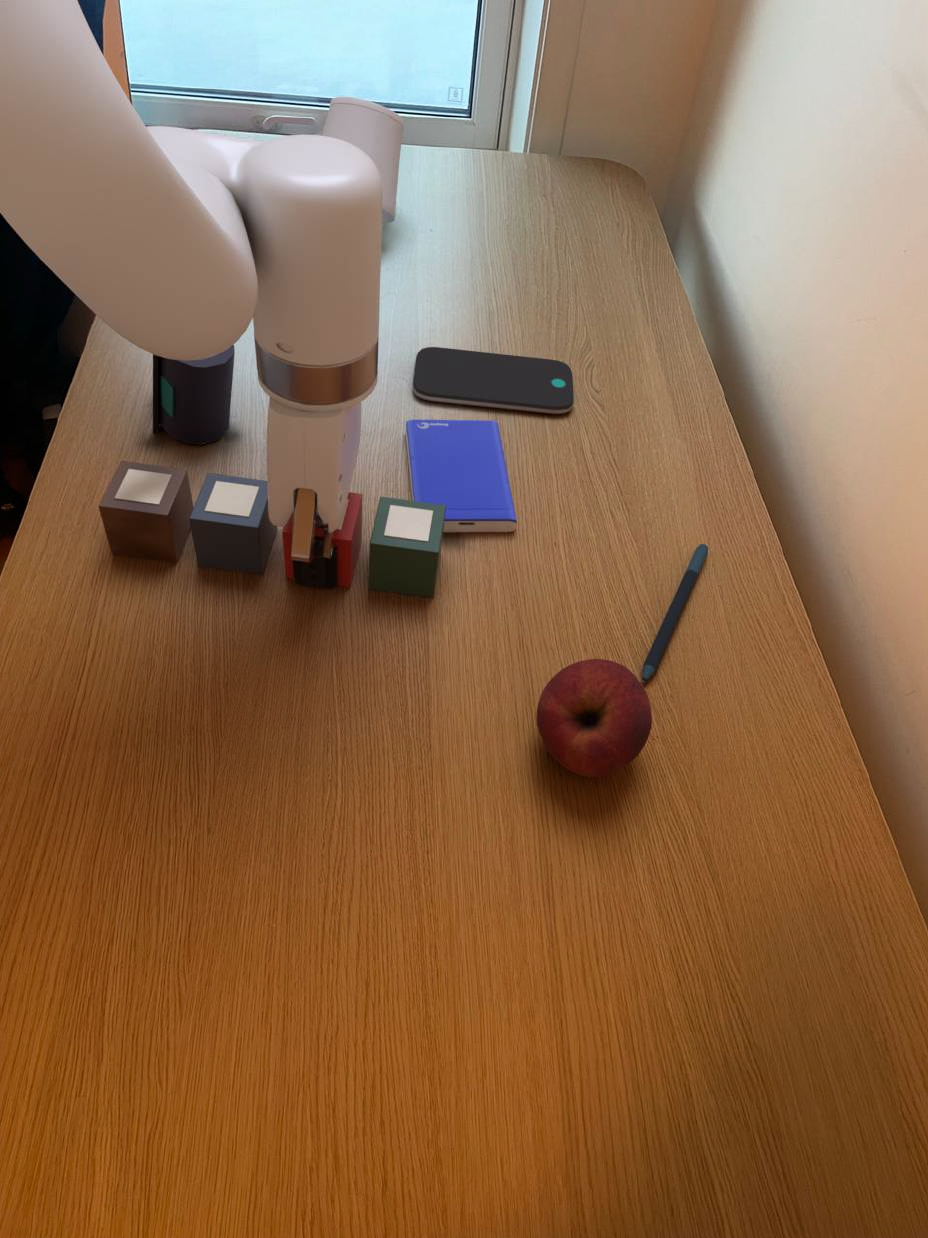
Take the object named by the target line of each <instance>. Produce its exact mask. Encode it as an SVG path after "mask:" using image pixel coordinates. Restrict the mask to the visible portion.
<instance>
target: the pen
mask: <svg viewBox="0 0 928 1238" xmlns="http://www.w3.org/2000/svg"><path fill="white" fill-rule="evenodd" d="M708 554H709V546H708V545H707V544H705V543H700V544H699V545H698V546H697V547H696V548H695V550H694V552H693V554H692V557H691V559H690V561H689V564H688V565H687V568H686V570H685V571H684V574H683V577H682V579H681V581H680V583H679V585H678V587H677V590H676V592H675V594H674V596H673V598H672V601H671V603H670V605H669V607H668V609H667V612H666V613H665V616H664V618H663V621H662V623H661V625H660V627H659V629H658V632H657V634H656V635H655V638H654V640H653V641H652V644H651V647H650V649H649V651H648V654H647V656H646V658H645V661H644V662H643V664H642V672H641V674H642V675H641V680H642V683H643V684H645V682H647V681H648V680H649V679H650V678H651V677H652V676H653V675H654V674H655V673H656V672H657V670H658V668H659V666H660V663H661V661H662V659H663V656H664V653H665V652H666V649H667V647H668V645H669V643H670V640H671V638H672V636H673V633H674V631H675V630H676V628H677V627H676V626H677V624H678V622H679V620H680V618H681V616H682V613H683V611H684V609H685V606H686V604H687V602H688V599H689V597H690V595H691V593H692V591H693V588H694V586H695V584H696V582H697V579H698V577H699V575H700V572H701V570H702V568H703V565H704V563H705V561H706V558H707V556H708Z"/></svg>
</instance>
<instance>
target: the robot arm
mask: <svg viewBox="0 0 928 1238" xmlns="http://www.w3.org/2000/svg"><path fill="white" fill-rule="evenodd" d="M382 208H383V194H382V182H381V177H380V174H379V172H378V169H377V167H376V165H375V164H374V162H373V161H372V159H371V158H370V157H369V156H368V155H367V154H366V153H364V152H363V151H362V150H360V149H359V148H358V147H356V146H354V145H352V144H351V143H348V142H346V141H343V140H340V139H336V138H332V137H327V136H322V135H319V134H292V135H285V136H281V137H276V138H274V139H270V140H260V139H253V138H244V137H238V136H231V135H225V134H219V133H214V132H213V133H212V132H207V131H201V130H195V129H190V128H185V127H176V126H165V125H149V126H146V125H145V123H144V121H143V120H142V118H141V116H140V115H139V114H138V112H137V110H136V109H135V107H134V105H133V104H132V103H131V101H130V99H129V98H128V96H127V95H126V93H125V91H124V89H123V88H122V86H121V84H120V83H119V81H118V79H117V78H116V75H114V72H113V70H112V69H111V67H110V65H109V63H108V60H106V58H105V56H104V54H103V52H102V50H101V48H100V47H99V45H98V42H97V40H96V38H95V35H94V34H93V32H92V30H91V28H90V26H89V24H88V21H87V19H86V17H85V14H84V13H83V10H82V8H81V5H80V3H79V0H0V214H1V215H2V217H3V218H4V219H5V221H6V222H7V223H8V224H9V225H10V227H11V228H12V229H13V230H14V232H16V234H17V235H18V236H19V237H20V239H21V240H22V241H23V242H24V243H25V245H27V246H28V248H29V249H30V250H31V251H32V252H33V253H35V255H36V256H37V257H38V258H39V260H40V261H42V263H44V264H45V266H47V267H48V268H49V269H50V270H51V272H53V273H54V274H55V276H56V277H57V278H58V279H60V280H61V282H62V283H63V284H64V285H66V286H67V288H69V289H70V291H71V292H72V293H74V295H75V296H77V297H78V299H79V300H81V302H83V304H85V305H86V307H88V308H89V310H90V311H92V313H94V314H95V315H96V316H97V317H98V318H99V319H100V320H101V321H102V322H103V323H104V324H105V325H107V327H109V328H110V329H111V330H113V331H114V332H115V334H118V335H119V336H120V337H122V338H123V339H125V340H126V341H128V342H129V343H131V344H132V345H134V346H135V347H137V348H139V349H141V350H143V351H145V352H148V353H150V354H151V355H153V354H154V355H157V356H160V357H164V358H167V359H174V360H182V361H191V360H202V359H206V358H209V357H213V356H215V355H217V354H219V353H222V352H224V351H226V350H227V349H228V348H230V347H231V346H232V345H235V344H236V343H237V342H238V341H239V340H240V339H241V337H242V336H243V335H244V334H245V333H246V331H247V330H248V328H249V326H250V324H251V323H252V324H253V325H252V326H253V337H254V348H255V360H256V361H255V362H256V369H257V380H258V384H259V386H260V387H261V389H262V391H263V392H264V393H265V394H266V395H267V396H268V397H269V401H268V411H267V424H266V425H267V427H266V428H267V429H266V477H267V478H266V481H267V483H268V512H269V519H270V521H271V523H272V524H273V525H274V526H277V527H281V528H283V527H285V525H286V524H287V522H288V520H289V518H290V516H291V514H292V512H293V518H292V553H291V559H292V560H293V572H294V579H293V581H294V583H295V584H297V585H300V586H307V587H312V588H313V587H315V588H323V589H330V590H334V589H337V588H338V587H337V586H338V585H337V583H338V552H337V548H336V547H333V538H334V531H335V530H336V529H337V528H338V527H339V525H340V523H341V519H342V516H343V512H344V509H345V505H346V501H347V497H348V493H349V492H350V488H351V485H352V481H353V478H354V473H355V469H356V466H357V460H358V455H359V450H360V443H361V433H362V409H363V408H362V406H363V404H362V402H363V401H365V400H366V399H367V398H368V397H369V396H370V395H371V394H372V393H373V391H374V390H375V389H376V386H377V385H378V380H379V379H378V377H379V376H378V375H379V371H378V370H379V368H378V367H379V338H380V337H379V336H380V335H379V334H380V304H381V272H382V271H381V270H382V269H381V267H382V262H381V261H382V240H383V239H382V237H383V236H382V235H383V234H382V233H383V222H382ZM315 527H319V528H324V541H323V540H316V539H314V533H315Z"/></svg>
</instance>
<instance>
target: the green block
mask: <svg viewBox="0 0 928 1238" xmlns="http://www.w3.org/2000/svg"><path fill="white" fill-rule="evenodd" d="M445 512H446V506H445V505H439V504H431V503H424V502H417V501H412V500H408V499H401V498H394V497H387V496H380V497H379V501H378V505H377V509H376V514H375V518H374V522H373V527H372V531H371V536H370V540H369V554H368V555H369V558H368V590H372V591H380V592H386V593H387V592H388V593H394V594H403V595H409V596H410V595H411V596H417V597H425V598H431V599H434V598H435V593H436V587H437V580H438V575H439V567H440V561H441V560H440V559H441V555H442V554H441V553H442V546H443V537H444V532H443V529H444V521H445Z"/></svg>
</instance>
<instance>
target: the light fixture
mask: <svg viewBox="0 0 928 1238" xmlns="http://www.w3.org/2000/svg"><path fill="white" fill-rule="evenodd" d="M328 107H329V108H328V111H327V115H326V118H325V122H324V124H323V125H324V126H323V129H322V133H321V136H327V137H332V138H336V139H340V140H343V141H346V142H348V143H351V144H352V145H354V146H356V147H358V148H359V149H360V150H362V151H363V152H364V153H366V154H367V155H368V156H369V157H370V158H371V159H372V161H373V162H374V164H375V165H376V167H377V169H378V172H379V174H380V177H381V182H382V194H383V208H382V223H392V222H394V221H395V220H396V209H397V196H398V183H399V172H400V170H399V169H400V159H401V151H402V140H403V135H404V134H403V133H404V127H405V121H404V119H403V118H402V116H400V115H399V114H398V113H396V111H393V110H392V109H391V108H388V107H386V106H384V105H382V104H378V103H376V102H373V101H370V100H367V99H363V98H358V97H353V96H336V97H333V98H331V100H330V103H329V106H328Z"/></svg>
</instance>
